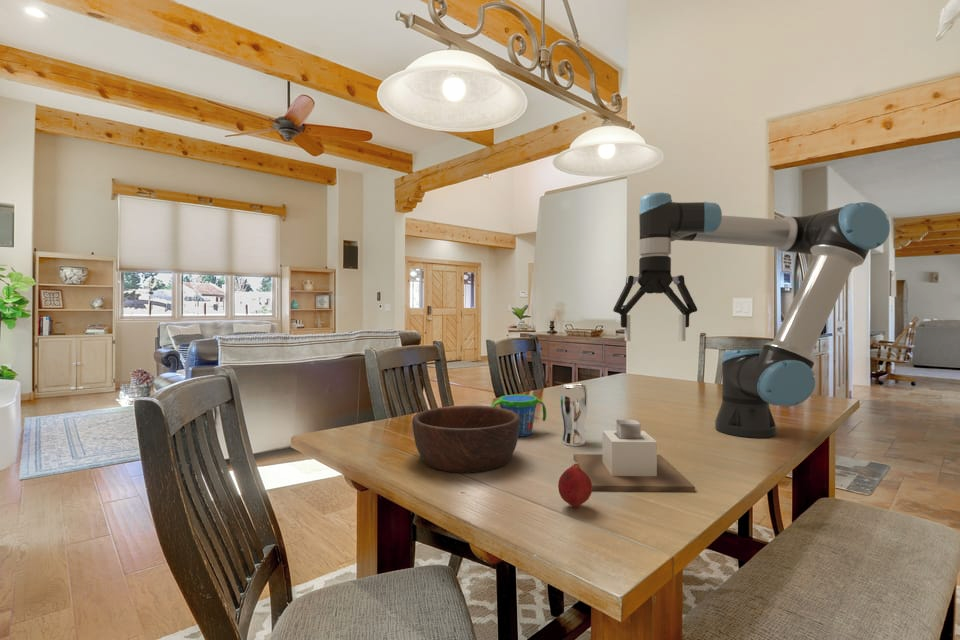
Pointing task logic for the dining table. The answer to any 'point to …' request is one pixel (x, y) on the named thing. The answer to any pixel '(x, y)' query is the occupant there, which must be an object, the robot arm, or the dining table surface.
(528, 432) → the snack cup
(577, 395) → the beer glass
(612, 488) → the post base
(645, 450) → the white square sleeve
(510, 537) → the dining table surface
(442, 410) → the wooden bowl
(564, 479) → the onion
